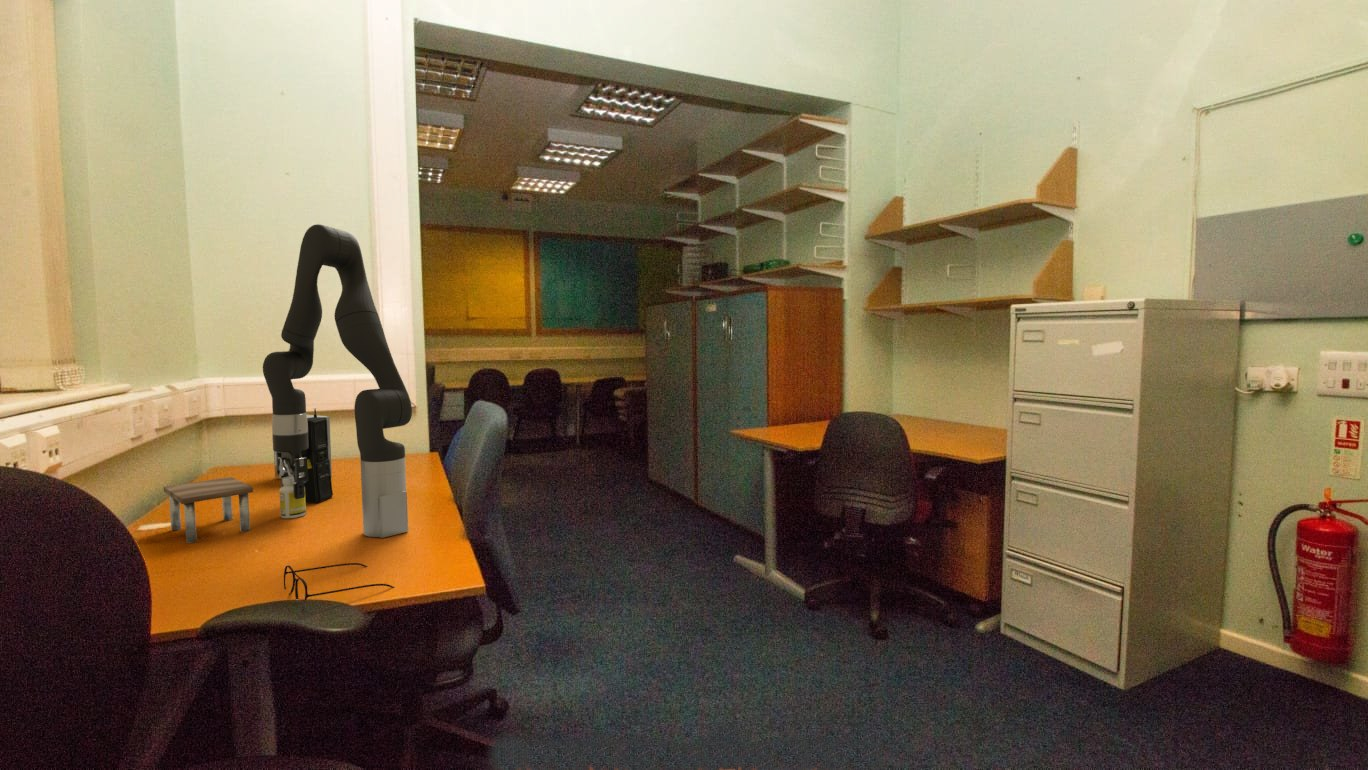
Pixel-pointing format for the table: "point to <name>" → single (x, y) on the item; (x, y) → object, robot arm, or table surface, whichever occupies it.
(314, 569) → the glasses
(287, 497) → the supplement bottle
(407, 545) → the table surface
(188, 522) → the small wooden stool
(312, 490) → the portable radio
